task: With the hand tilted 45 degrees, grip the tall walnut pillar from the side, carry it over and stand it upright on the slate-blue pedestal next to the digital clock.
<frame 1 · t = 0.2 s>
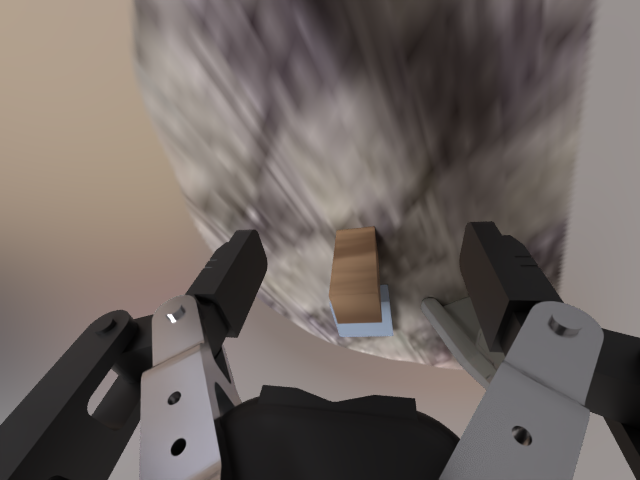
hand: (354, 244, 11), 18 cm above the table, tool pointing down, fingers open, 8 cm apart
digital clock: (459, 318, 42), on the table
pedestal: (362, 303, 42), on the table
walnut pillar: (357, 242, 34), on the table
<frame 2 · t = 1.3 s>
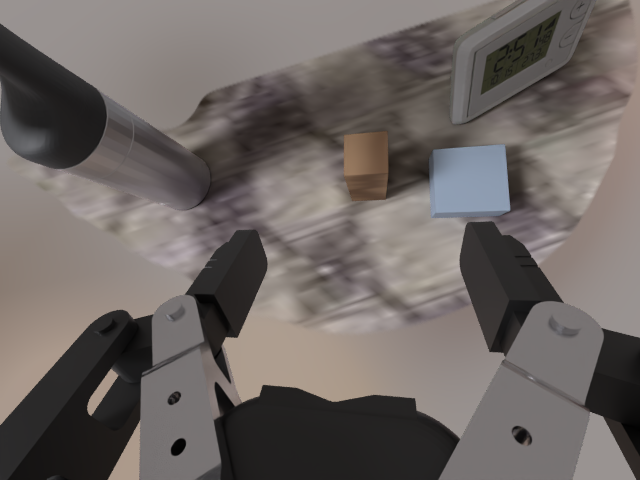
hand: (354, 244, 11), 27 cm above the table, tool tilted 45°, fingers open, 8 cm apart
digital clock: (496, 84, 37), on the table
pedestal: (462, 186, 36), on the table
walnut pillar: (368, 184, 38), on the table
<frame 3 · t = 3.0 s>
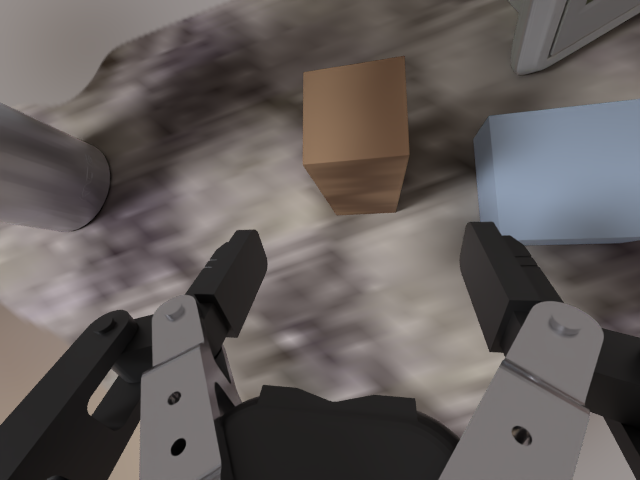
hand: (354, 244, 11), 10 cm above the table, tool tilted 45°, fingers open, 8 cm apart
digital clock: (594, 3, 20), on the table
pedestal: (541, 187, 19), on the table
walnut pillar: (364, 185, 22), on the table
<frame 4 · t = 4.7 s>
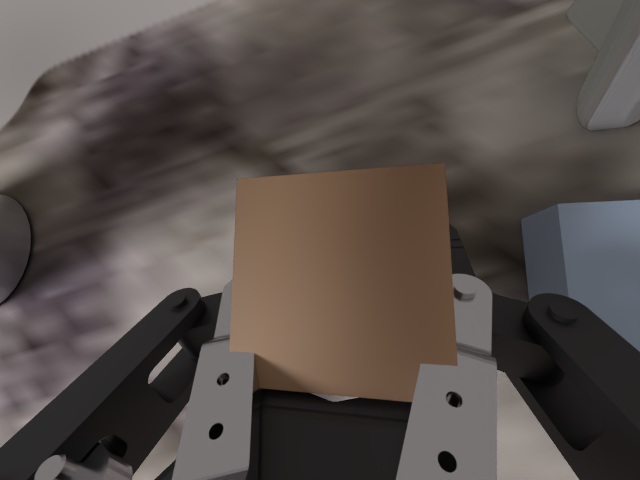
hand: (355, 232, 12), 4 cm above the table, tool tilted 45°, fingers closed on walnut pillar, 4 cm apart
pedestal: (628, 301, 13), on the table
walnut pillar: (363, 278, 15), on the table, touching gripper
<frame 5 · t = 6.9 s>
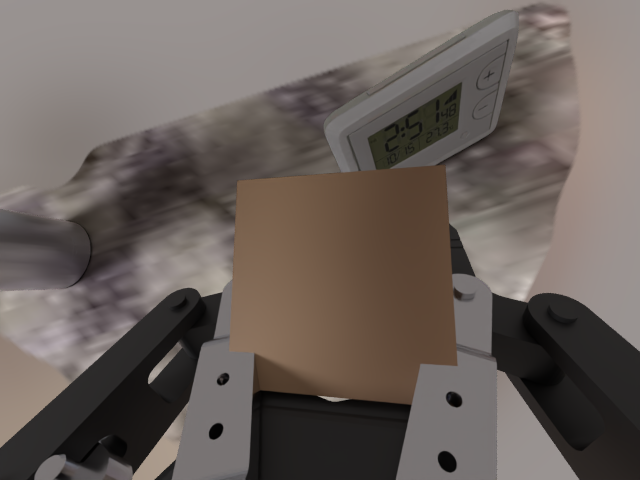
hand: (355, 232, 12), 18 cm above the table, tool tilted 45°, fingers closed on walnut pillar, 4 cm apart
digital clock: (411, 152, 30), on the table
walnut pillar: (363, 279, 15), point 14 cm above the table, touching gripper
when the fingers open (8 cm above the table, at t = 9.1 s): walnut pillar stays where it is, resting on pedestal.
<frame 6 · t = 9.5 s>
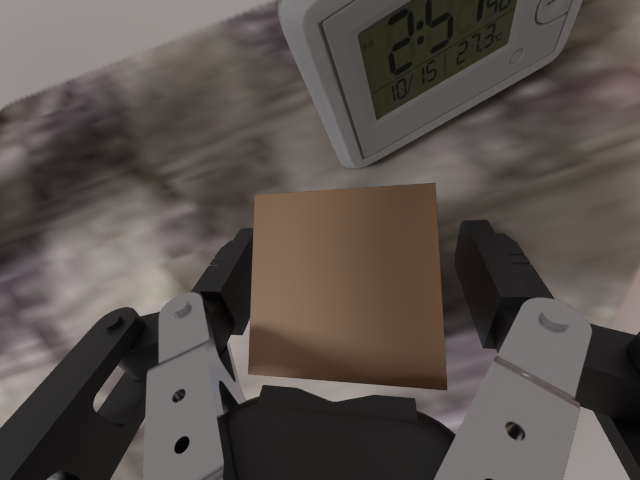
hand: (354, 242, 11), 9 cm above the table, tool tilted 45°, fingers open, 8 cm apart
digital clock: (427, 97, 20), on the table
walnut pillar: (363, 279, 16), point 3 cm above the table, touching pedestal
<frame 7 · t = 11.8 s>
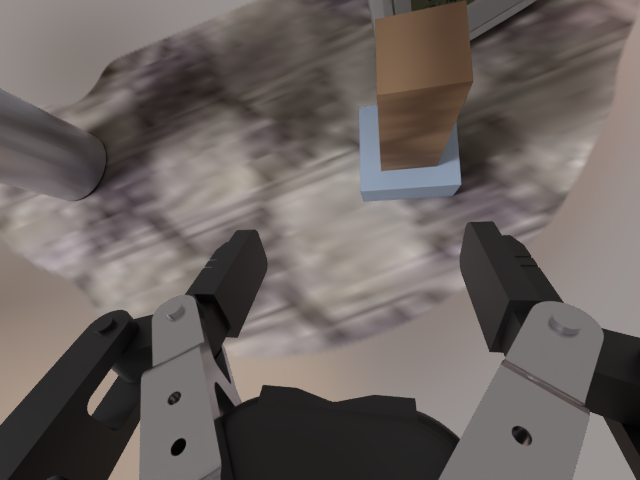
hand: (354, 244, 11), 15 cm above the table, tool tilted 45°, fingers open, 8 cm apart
digital clock: (447, 33, 28), on the table
pedestal: (404, 158, 27), on the table
walnut pillar: (407, 143, 24), point 3 cm above the table, touching pedestal
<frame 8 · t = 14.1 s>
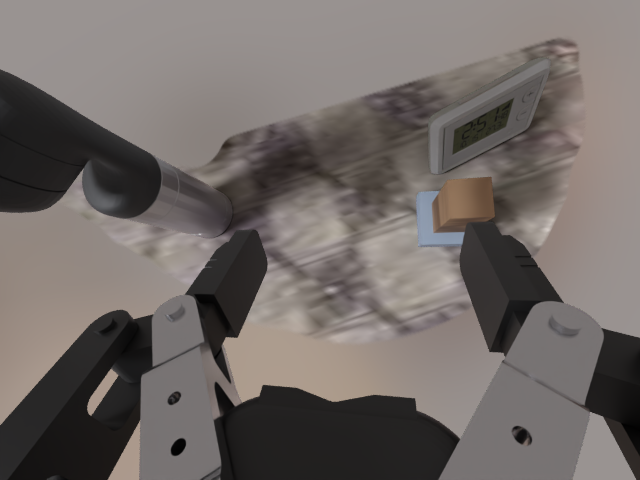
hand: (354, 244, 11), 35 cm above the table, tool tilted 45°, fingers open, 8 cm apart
digital clock: (469, 142, 44), on the table
pedestal: (444, 221, 43), on the table
walnut pillar: (448, 217, 40), point 3 cm above the table, touching pedestal
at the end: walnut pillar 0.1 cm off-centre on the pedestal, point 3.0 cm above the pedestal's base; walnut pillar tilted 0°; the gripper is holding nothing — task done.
